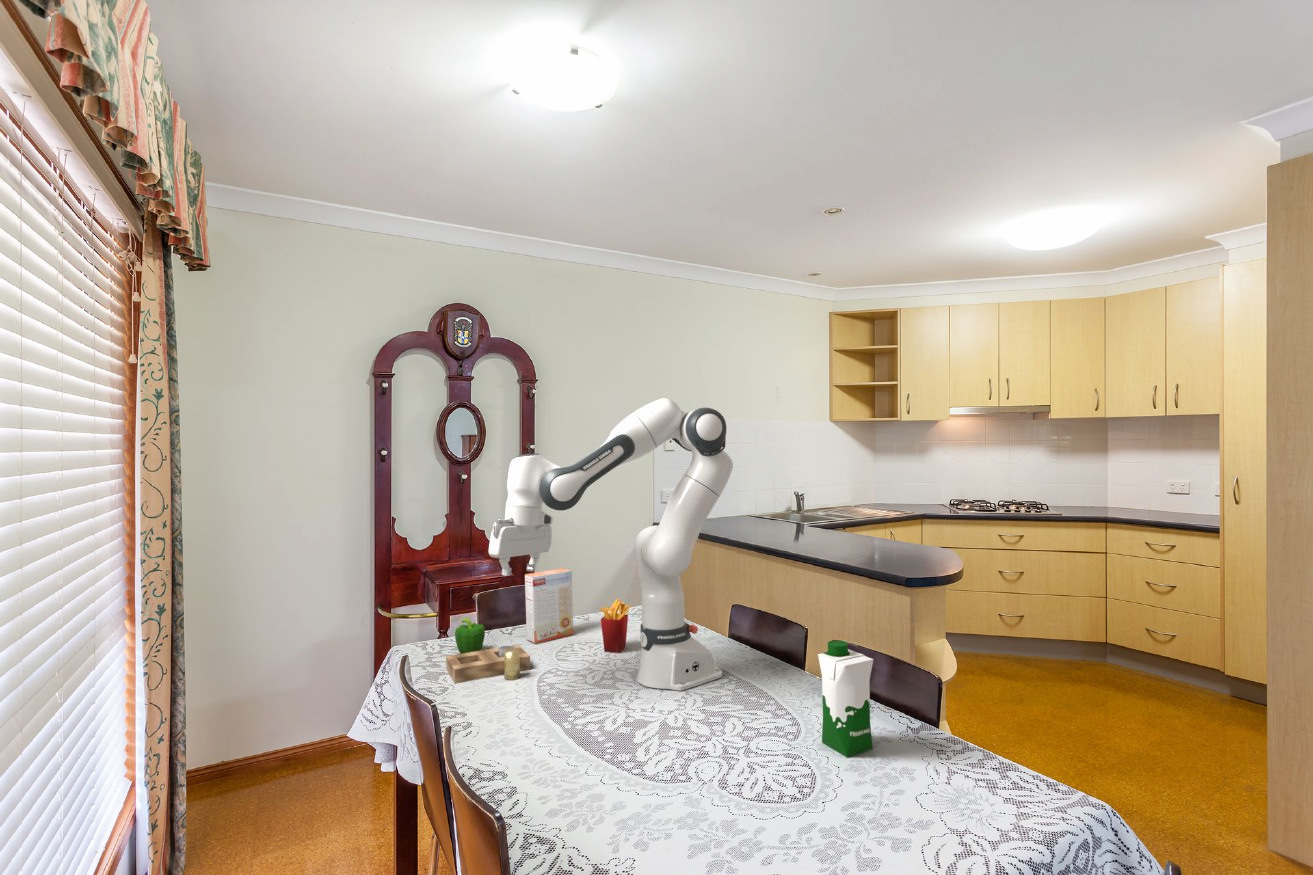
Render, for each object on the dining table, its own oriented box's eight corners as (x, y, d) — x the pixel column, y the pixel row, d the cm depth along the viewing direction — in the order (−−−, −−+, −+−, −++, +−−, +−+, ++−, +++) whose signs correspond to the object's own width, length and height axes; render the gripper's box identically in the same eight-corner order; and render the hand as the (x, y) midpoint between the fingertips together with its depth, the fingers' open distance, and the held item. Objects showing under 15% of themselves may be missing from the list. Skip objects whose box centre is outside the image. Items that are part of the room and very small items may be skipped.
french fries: (600, 652, 192) (599, 601, 192) (610, 644, 200) (609, 594, 200) (628, 654, 190) (627, 603, 190) (637, 646, 198) (636, 596, 198)
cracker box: (564, 631, 215) (563, 567, 215) (573, 635, 210) (572, 569, 210) (525, 639, 206) (524, 573, 206) (534, 644, 201) (533, 576, 201)
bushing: (517, 673, 176) (517, 647, 176) (521, 678, 173) (521, 651, 173) (502, 676, 174) (502, 650, 174) (506, 681, 171) (506, 654, 171)
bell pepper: (491, 651, 196) (490, 617, 196) (470, 659, 189) (469, 624, 189) (471, 646, 200) (471, 613, 200) (450, 654, 193) (449, 620, 193)
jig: (517, 656, 190) (517, 639, 190) (530, 669, 179) (530, 650, 179) (446, 669, 181) (446, 651, 181) (455, 683, 170) (454, 663, 170)
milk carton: (847, 732, 138) (845, 636, 138) (880, 750, 130) (878, 648, 130) (815, 741, 134) (813, 643, 134) (847, 760, 126) (845, 656, 126)
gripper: (505, 520, 154) (500, 579, 154) (557, 517, 173) (553, 570, 172) (484, 518, 157) (480, 576, 157) (537, 515, 175) (534, 567, 175)
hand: (519, 573), depth 164 cm, fingers open, 8 cm apart
